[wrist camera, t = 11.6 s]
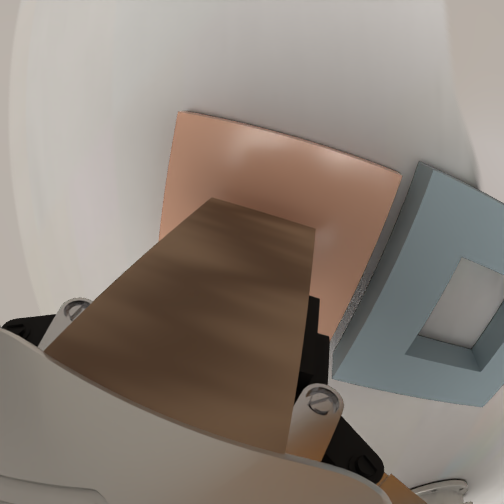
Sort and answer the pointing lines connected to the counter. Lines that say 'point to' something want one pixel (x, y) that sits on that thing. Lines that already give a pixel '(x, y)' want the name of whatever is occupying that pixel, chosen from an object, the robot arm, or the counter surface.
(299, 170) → the terracotta tile
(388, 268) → the pocket plate
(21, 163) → the counter surface
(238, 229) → the walnut block
